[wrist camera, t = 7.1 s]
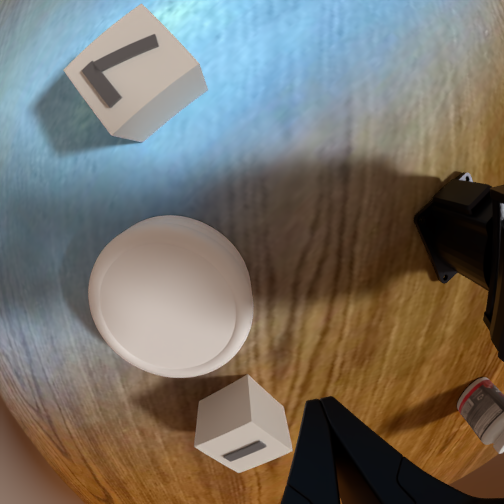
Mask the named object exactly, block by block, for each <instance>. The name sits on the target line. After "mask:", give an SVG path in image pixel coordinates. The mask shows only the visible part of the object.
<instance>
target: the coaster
mask: <svg viewBox="0 0 504 504" xmlns="http://www.w3.org/2000/svg"><path fill="white" fill-rule="evenodd" d="M88 298H89V306H90V311H91V314H92V317H93V320H94V323H95V325H96V327H97V329H98V331H99V332H100V334H101V336H102V337H103V339H104V340H105V341H106V343H107V344H108V345H109V346H110V347H111V348H112V349H113V350H114V351H115V352H116V353H117V354H118V355H119V356H120V357H122V358H123V359H124V360H126V361H127V362H129V363H130V364H132V365H134V366H136V367H138V368H140V369H142V370H144V371H146V372H149V373H152V374H155V375H159V376H164V377H172V378H187V377H195V376H199V375H203V374H206V373H209V372H212V371H214V370H216V369H217V368H219V367H221V366H223V365H224V364H225V363H227V362H228V361H229V360H230V359H231V358H232V357H234V356H235V355H236V353H237V352H238V351H239V349H240V348H241V347H242V345H243V343H244V342H245V340H246V338H247V336H248V333H249V331H250V328H251V324H252V320H253V310H254V304H253V295H252V287H251V280H250V276H249V272H248V269H247V267H246V264H245V262H244V260H243V258H242V257H241V255H240V253H239V252H238V250H237V249H236V248H235V246H234V245H233V244H232V243H231V242H230V241H229V240H228V239H227V238H226V237H225V236H224V235H222V234H221V233H220V232H218V231H217V230H215V229H214V228H212V227H211V226H209V225H207V224H205V223H202V222H200V221H198V220H195V219H192V218H188V217H183V216H174V215H165V216H156V217H152V218H148V219H145V220H143V221H140V222H138V223H136V224H135V225H133V226H131V227H130V228H129V229H127V230H125V231H124V232H122V233H121V234H119V235H117V236H116V237H115V238H114V239H113V240H111V241H110V242H109V243H108V244H107V245H106V246H105V248H104V249H103V250H102V251H101V253H100V255H99V256H98V258H97V260H96V262H95V264H94V267H93V269H92V272H91V276H90V280H89V288H88Z"/></svg>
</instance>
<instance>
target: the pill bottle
mask: <svg viewBox="0 0 504 504" xmlns="http://www.w3.org/2000/svg"><path fill="white" fill-rule="evenodd" d="M457 409H458V411H459V412H460V413H461V415H462V416H463V417H464V418H465V420H466V421H467V422H468V424H469V425H470V426H471V428H472V429H473V430H474V432H475V433H476V434H477V436H478V437H479V438H480V440H481V441H482V442H483V443H484V444H491V443H494V445H493V447H494V449H496V451H497V452H498V453H499V454H500V453H503V452H504V395H503V394H502V393H501V392H500V391H499V390H498V388H497V387H496V386H495V385H494V384H493V383H492V382H491V381H490V380H489V379H488V378H486V377H483V378H479V379H477V380H476V381H474V382H473V383H472V384H471V385H469V386H468V387H467V389H466V390H465V391H464V392H463V394H462V395H461V397H460V398H459V400H458V403H457Z"/></svg>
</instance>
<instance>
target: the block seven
mask: <svg viewBox="0 0 504 504" xmlns="http://www.w3.org/2000/svg"><path fill="white" fill-rule="evenodd" d="M64 72H65V73H66V74H67V76H68V77H69V79H70V80H71V81H72V83H73V84H74V86H75V87H76V88H77V90H78V91H79V93H80V94H81V95H82V97H83V98H84V99H85V101H86V102H87V104H88V105H89V106H90V108H91V109H92V110H93V112H94V113H95V114H96V116H97V117H98V118H99V120H100V121H101V122H102V124H103V125H104V126H105V128H106V129H107V130H108V132H109V133H110V134H111V136H115V137H120V138H125V139H129V140H134V141H138V142H144V141H145V140H146V139H147V138H149V137H150V136H151V135H152V134H153V133H154V132H155V131H157V130H158V129H159V128H160V127H161V126H163V125H164V124H165V123H166V122H167V121H169V120H170V119H171V118H172V117H174V116H175V115H176V114H177V113H179V112H180V111H181V110H182V109H184V108H185V107H186V106H188V105H189V104H190V103H191V102H193V101H194V100H195V99H197V98H198V97H199V96H201V95H202V94H204V93H205V92H206V91H208V88H207V85H206V82H205V79H204V76H203V73H202V70H201V67H200V64H199V63H198V62H197V61H196V59H195V58H194V57H193V56H192V55H191V54H190V53H189V52H188V51H187V50H186V49H185V47H184V46H183V45H182V44H181V43H180V42H179V41H178V40H177V39H176V38H175V37H174V36H173V35H172V34H171V33H170V32H169V31H168V30H167V28H166V27H165V26H164V25H163V24H162V23H161V22H160V21H159V20H158V19H157V18H156V17H155V16H154V15H153V14H152V13H151V12H150V11H149V10H148V9H147V8H146V7H144V6H143V5H142V4H140V5H139V6H137V7H136V8H135V9H133V10H132V11H130V12H129V13H128V14H126V15H125V16H124V17H122V18H121V19H120V20H119V21H117V22H116V23H115V24H113V25H112V26H111V27H110V28H109V29H107V30H106V31H105V32H104V33H102V34H101V35H100V36H99V37H98V38H97V39H95V40H94V41H93V42H92V43H91V44H90V45H89V46H88V47H87V48H85V49H84V50H83V51H82V52H81V53H80V54H79V55H78V56H77V57H76V58H75V59H74V60H73V61H72V62H71V63H70V64H69V65H68V66H67V67H66V68H65V69H64Z"/></svg>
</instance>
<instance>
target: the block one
mask: <svg viewBox="0 0 504 504" xmlns="http://www.w3.org/2000/svg"><path fill="white" fill-rule="evenodd" d="M194 447H195V448H197V449H199V450H200V451H202V452H203V453H205V454H207V455H208V456H210V457H212V458H213V459H215V460H217V461H218V462H220V463H222V464H223V465H225V466H227V467H229V468H231V469H232V470H234V471H236V472H238V473H240V472H243V471H246V470H248V469H251V468H254V467H256V466H259V465H261V464H264V463H266V462H269V461H271V460H273V459H276V458H278V457H280V456H283V455H285V454H287V453H289V452H291V451H293V449H292V445H291V440H290V435H289V430H288V426H287V421H286V416H285V411H284V407H283V406H282V405H281V404H280V403H279V402H277V401H276V400H275V399H274V398H273V397H272V396H271V395H270V394H269V393H267V392H266V391H265V390H264V389H263V388H262V387H261V386H260V385H259V384H258V383H257V382H255V381H254V380H253V379H252V378H251V377H250V376H249V375H248V374H247V375H246V376H244V377H242V378H240V379H239V380H237V381H235V382H233V383H232V384H230V385H228V386H226V387H224V388H223V389H221V390H219V391H217V392H215V393H213V394H211V395H210V396H208V397H206V398H204V399H202V400H200V401H199V405H198V414H197V424H196V434H195V444H194Z"/></svg>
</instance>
